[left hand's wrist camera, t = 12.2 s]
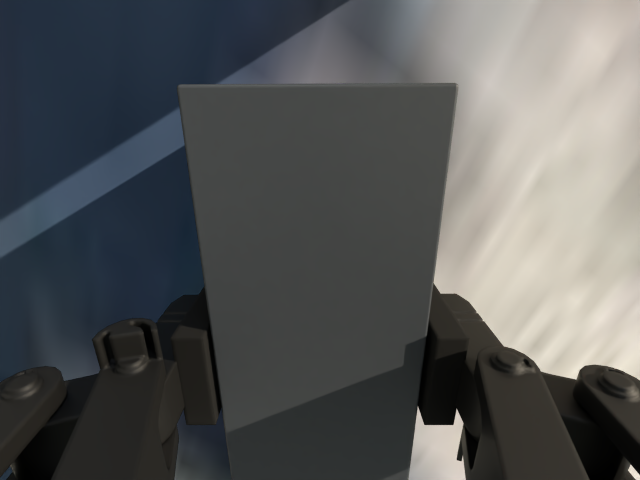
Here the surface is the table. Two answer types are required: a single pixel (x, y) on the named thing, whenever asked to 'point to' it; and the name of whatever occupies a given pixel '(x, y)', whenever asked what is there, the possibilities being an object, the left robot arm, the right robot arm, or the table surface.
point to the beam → (318, 266)
